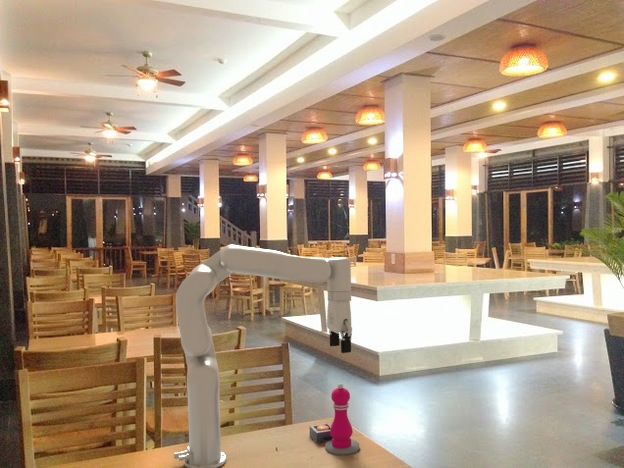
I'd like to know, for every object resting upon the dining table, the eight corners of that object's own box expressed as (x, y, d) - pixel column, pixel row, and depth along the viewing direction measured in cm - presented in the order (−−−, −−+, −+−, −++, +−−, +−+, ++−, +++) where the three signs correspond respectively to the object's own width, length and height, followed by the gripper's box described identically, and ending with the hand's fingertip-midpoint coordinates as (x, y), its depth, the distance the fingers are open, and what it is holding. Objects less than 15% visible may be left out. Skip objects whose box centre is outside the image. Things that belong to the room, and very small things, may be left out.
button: (319, 437, 188) (319, 430, 188) (315, 433, 192) (315, 426, 192) (330, 435, 190) (330, 428, 190) (326, 431, 194) (326, 424, 193)
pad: (332, 457, 176) (332, 454, 176) (320, 444, 186) (320, 441, 186) (365, 451, 179) (365, 448, 179) (351, 439, 190) (351, 436, 190)
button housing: (316, 443, 187) (316, 432, 186) (309, 435, 193) (309, 425, 193) (336, 440, 189) (336, 429, 189) (328, 432, 195) (328, 422, 195)
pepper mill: (353, 440, 186) (352, 380, 185) (352, 449, 179) (351, 386, 178) (331, 440, 187) (329, 380, 186) (329, 449, 179) (328, 386, 179)
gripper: (319, 293, 188) (320, 344, 188) (338, 300, 172) (339, 356, 172) (340, 292, 190) (340, 342, 191) (361, 298, 174) (362, 354, 175)
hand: (340, 349), depth 182 cm, fingers open, 9 cm apart
